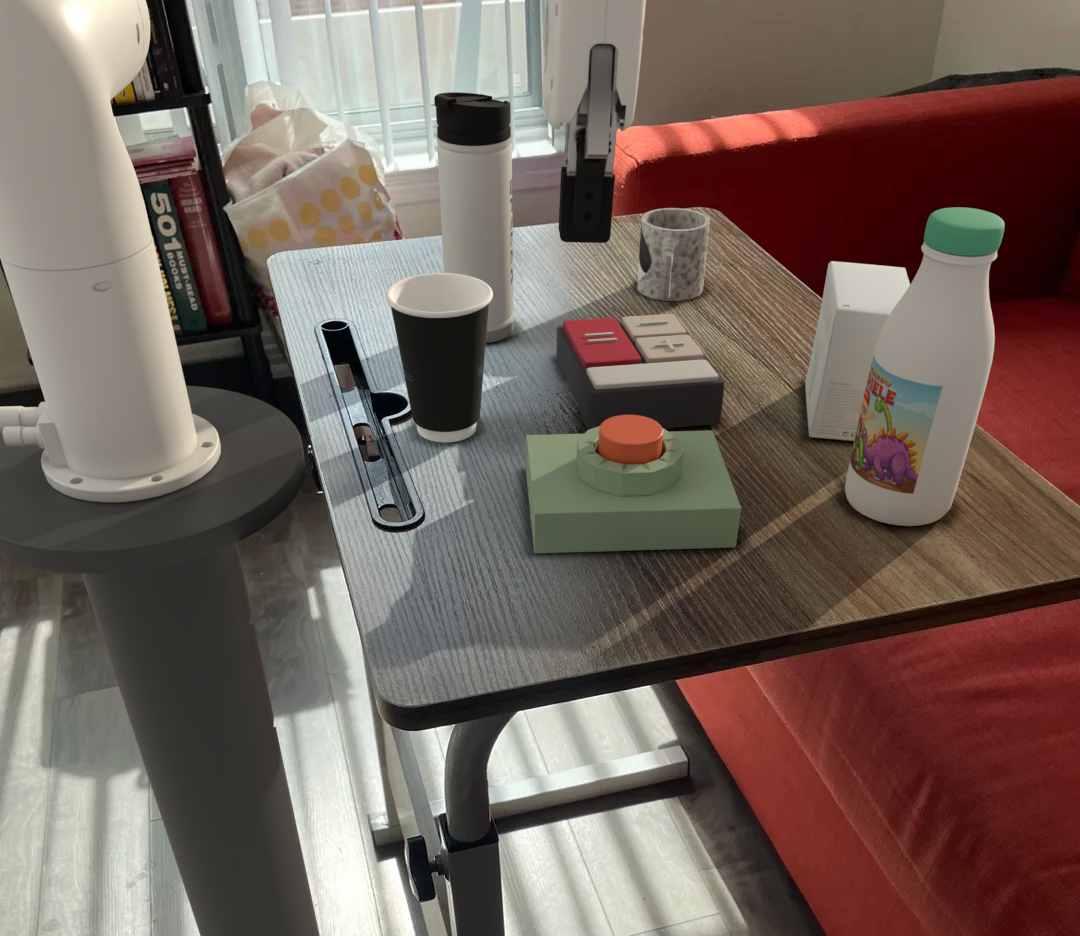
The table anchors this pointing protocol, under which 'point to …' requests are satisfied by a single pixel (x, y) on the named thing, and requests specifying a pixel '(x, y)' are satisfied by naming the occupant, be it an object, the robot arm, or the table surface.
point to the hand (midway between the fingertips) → (583, 237)
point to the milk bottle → (928, 376)
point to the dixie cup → (442, 350)
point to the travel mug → (478, 197)
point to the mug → (672, 254)
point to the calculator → (639, 371)
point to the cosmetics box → (848, 343)
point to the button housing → (629, 496)
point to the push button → (630, 439)
